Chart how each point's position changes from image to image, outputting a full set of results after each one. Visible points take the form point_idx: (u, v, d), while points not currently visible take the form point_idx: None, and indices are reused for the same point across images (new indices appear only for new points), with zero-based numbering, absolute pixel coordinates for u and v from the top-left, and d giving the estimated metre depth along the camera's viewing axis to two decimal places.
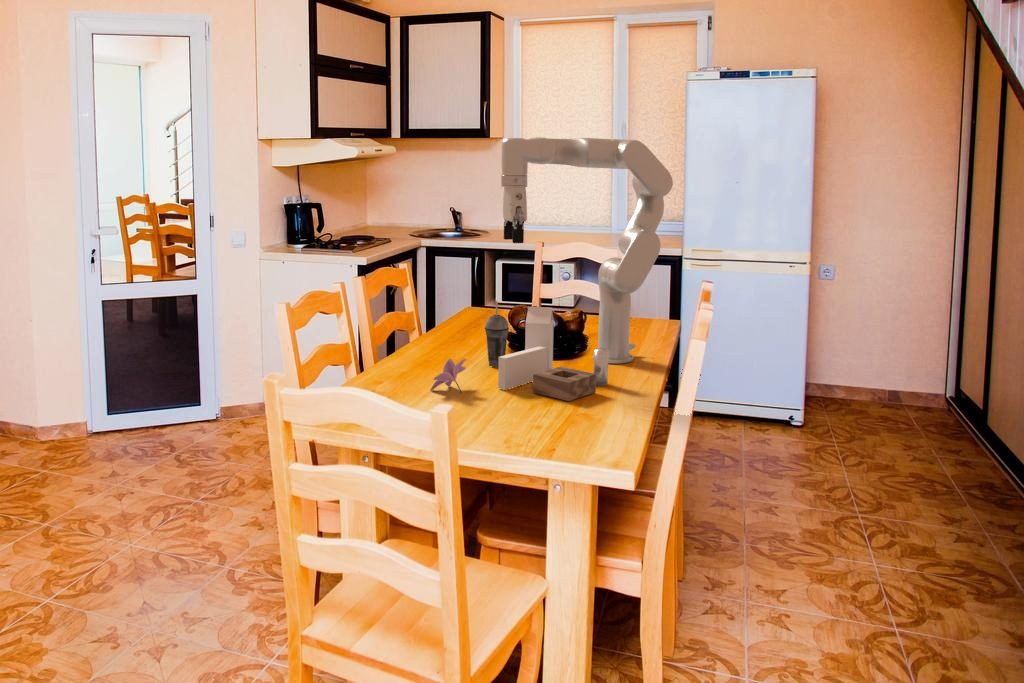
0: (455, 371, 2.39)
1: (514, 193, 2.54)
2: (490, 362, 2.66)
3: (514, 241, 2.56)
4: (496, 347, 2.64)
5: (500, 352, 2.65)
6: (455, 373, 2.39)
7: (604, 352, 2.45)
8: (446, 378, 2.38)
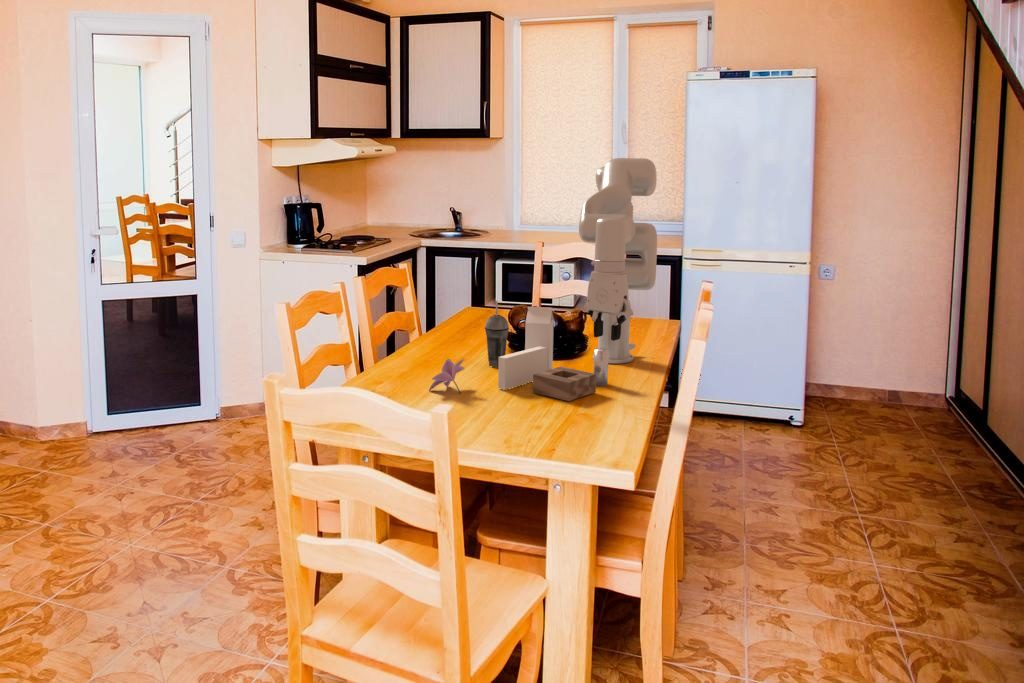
0: (454, 371, 2.39)
1: None
2: (490, 362, 2.66)
3: None
4: (496, 347, 2.64)
5: (500, 352, 2.65)
6: (454, 373, 2.39)
7: (604, 352, 2.45)
8: (445, 378, 2.38)
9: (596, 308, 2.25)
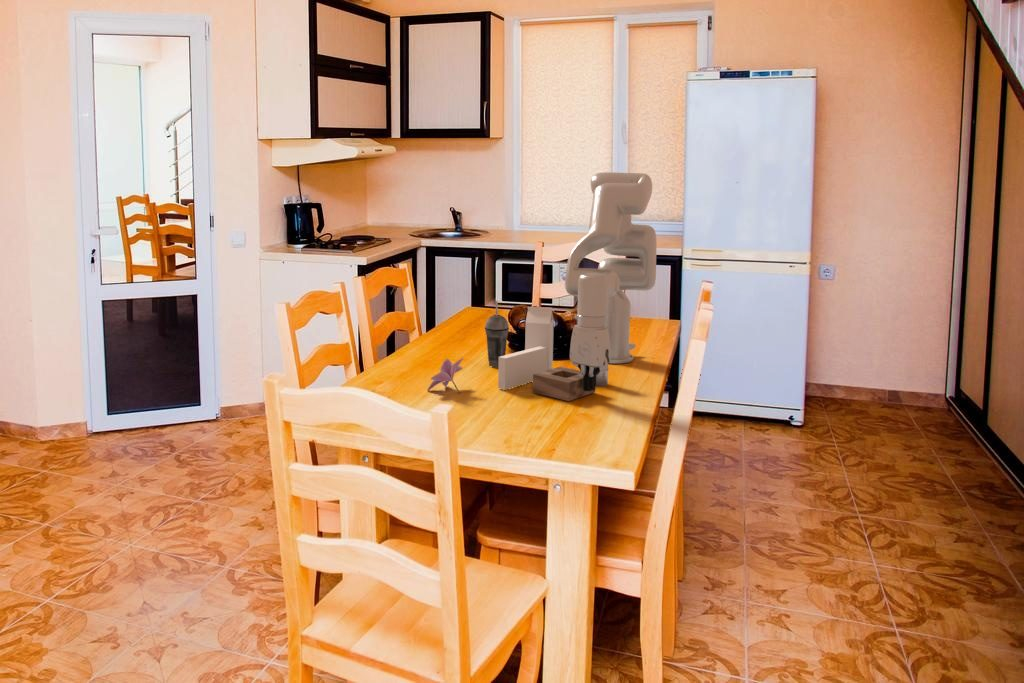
0: (452, 371, 2.39)
1: None
2: (490, 362, 2.66)
3: None
4: (496, 347, 2.64)
5: (500, 352, 2.65)
6: (452, 373, 2.39)
7: None
8: (443, 378, 2.38)
9: (579, 361, 2.31)
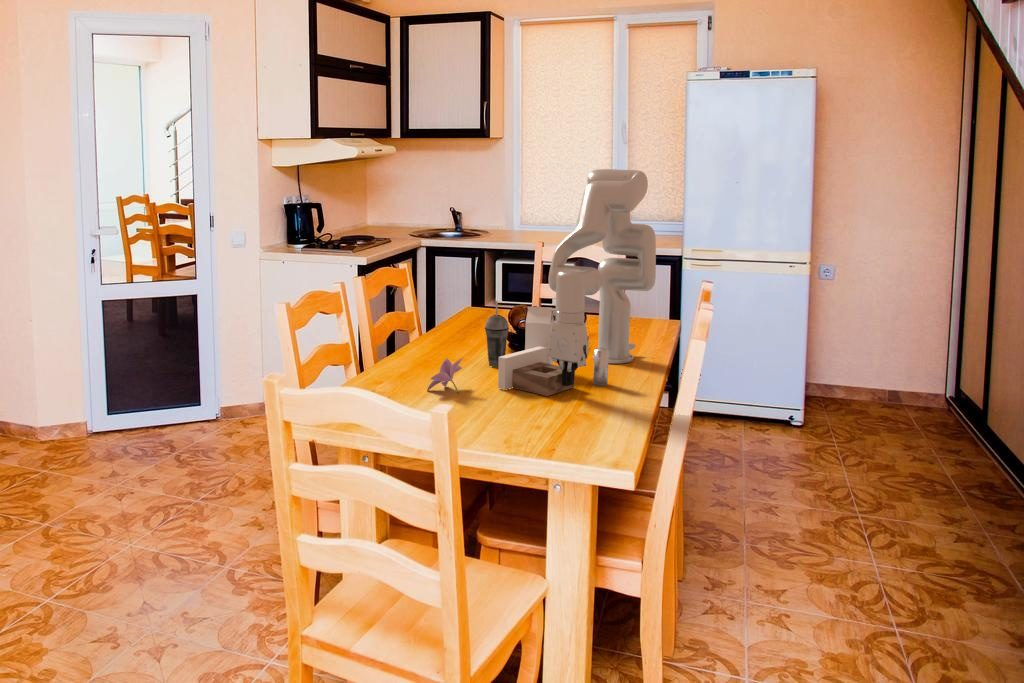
0: (452, 371, 2.39)
1: None
2: (490, 362, 2.66)
3: None
4: (496, 347, 2.64)
5: (500, 352, 2.65)
6: (452, 373, 2.39)
7: (604, 352, 2.45)
8: (443, 378, 2.38)
9: (557, 357, 2.36)
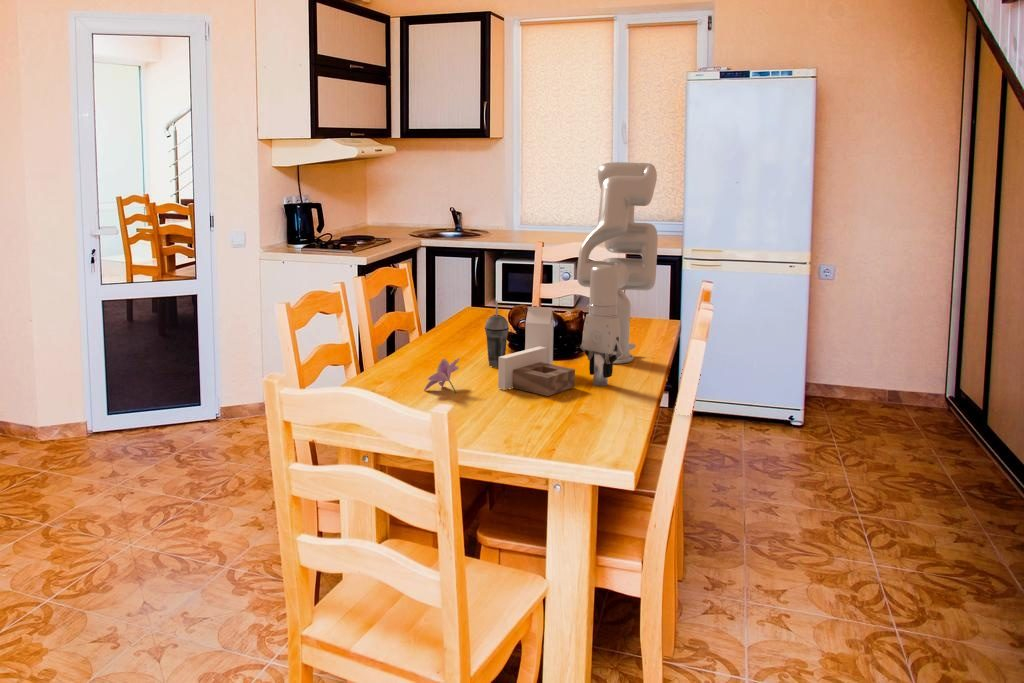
0: (449, 371, 2.39)
1: None
2: (490, 362, 2.66)
3: None
4: (496, 347, 2.64)
5: (500, 352, 2.65)
6: (449, 373, 2.39)
7: None
8: (440, 378, 2.38)
9: (591, 348, 2.45)
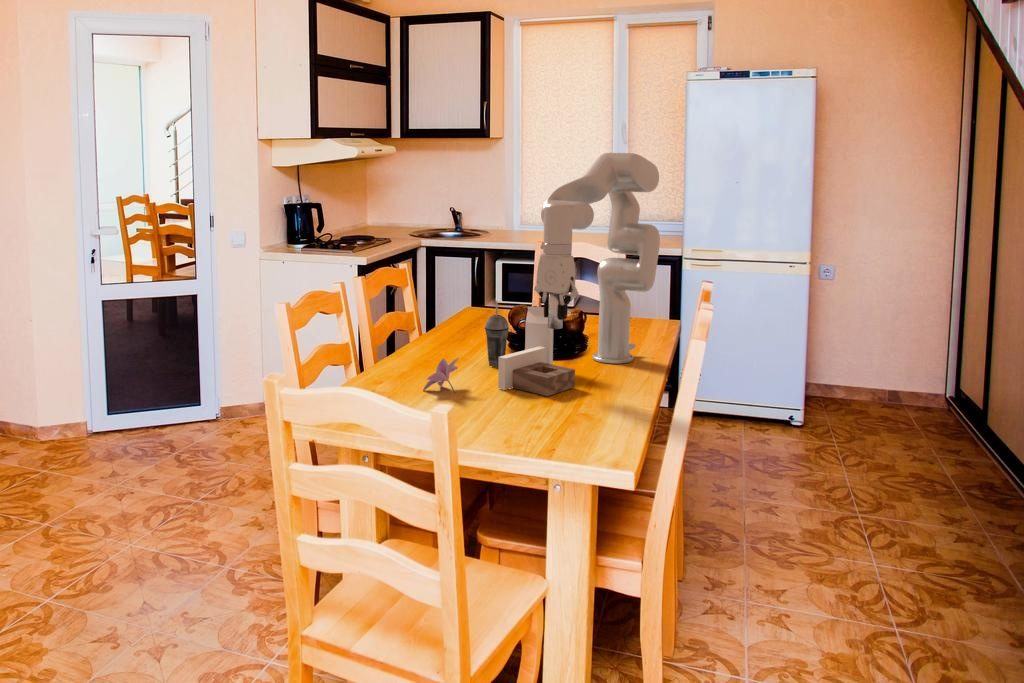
0: (448, 371, 2.39)
1: None
2: (490, 362, 2.66)
3: None
4: (496, 347, 2.64)
5: (500, 352, 2.65)
6: (448, 373, 2.39)
7: None
8: (439, 378, 2.38)
9: (545, 289, 2.38)
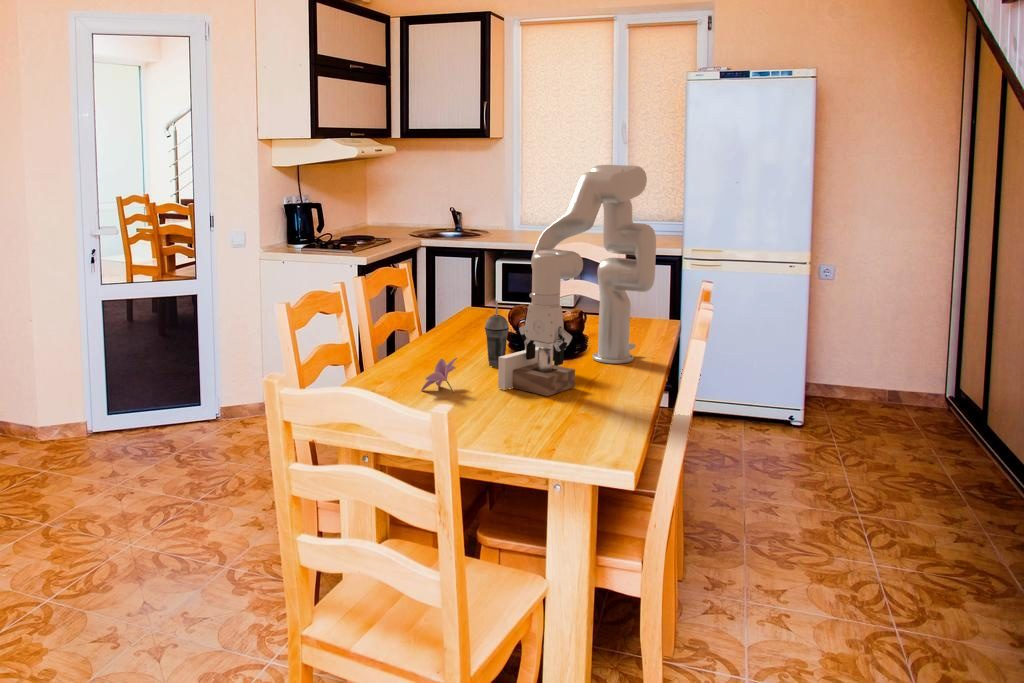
0: (446, 371, 2.39)
1: None
2: (490, 362, 2.66)
3: None
4: (496, 347, 2.64)
5: (500, 352, 2.65)
6: (446, 373, 2.39)
7: (548, 350, 2.40)
8: (437, 378, 2.38)
9: (533, 338, 2.40)
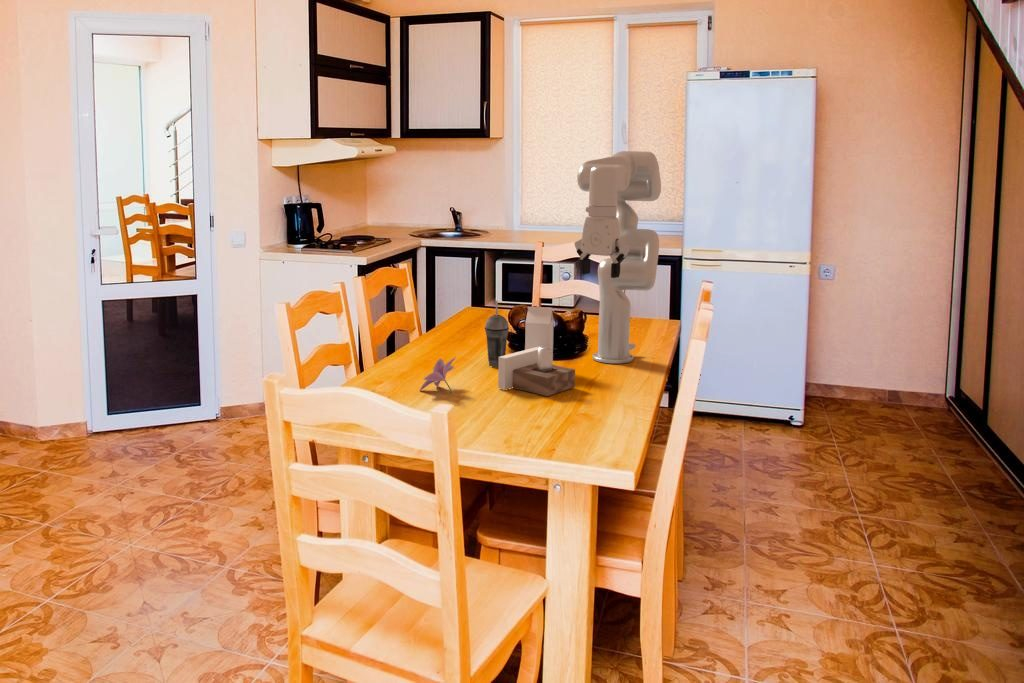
0: (445, 371, 2.39)
1: None
2: (490, 362, 2.66)
3: None
4: (496, 347, 2.64)
5: (500, 352, 2.65)
6: (445, 373, 2.39)
7: (547, 350, 2.40)
8: (436, 378, 2.38)
9: (590, 251, 2.42)
